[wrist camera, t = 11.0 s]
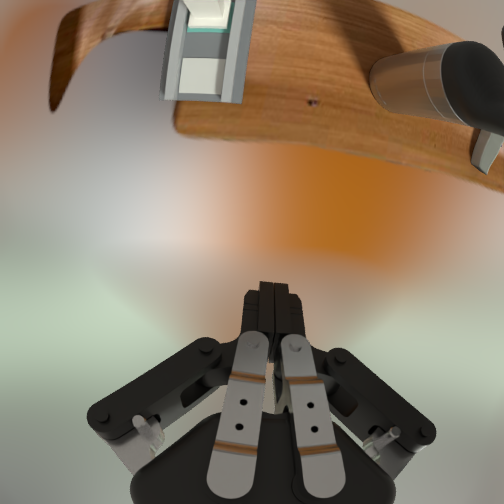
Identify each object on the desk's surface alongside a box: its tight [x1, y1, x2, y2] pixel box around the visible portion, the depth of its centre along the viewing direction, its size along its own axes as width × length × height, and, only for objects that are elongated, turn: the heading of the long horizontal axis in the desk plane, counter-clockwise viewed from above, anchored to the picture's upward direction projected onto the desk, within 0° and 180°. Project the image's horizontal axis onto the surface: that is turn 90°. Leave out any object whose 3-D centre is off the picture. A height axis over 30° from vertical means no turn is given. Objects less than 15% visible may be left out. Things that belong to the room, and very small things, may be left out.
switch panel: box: [159, 0, 256, 104], centre depth 28 cm, size 16×11×4 cm
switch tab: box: [183, 0, 231, 29], centre depth 20 cm, size 4×5×10 cm
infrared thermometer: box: [471, 129, 504, 175], centre depth 33 cm, size 5×12×15 cm
